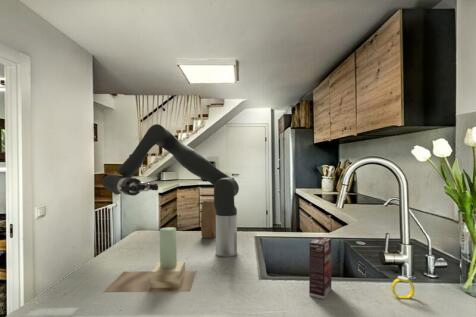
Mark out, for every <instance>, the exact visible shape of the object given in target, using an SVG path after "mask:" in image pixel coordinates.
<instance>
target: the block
mask: <svg viewBox="0 0 476 317" xmlns="http://www.w3.org/2000/svg"><path fill="white" fill-rule="evenodd" d="M200 210H201V212H200V217H201V218H200V223H201V224H200V230H201V237H202V238H204V239H214V238H216V210H215V207H214V198H212V199H208V198H207V199H204V200H203V201H202V202H201V209H200Z"/></svg>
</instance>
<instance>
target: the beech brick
mask: <svg viewBox="0 0 476 317" xmlns="http://www.w3.org/2000/svg"><path fill="white" fill-rule="evenodd" d="M150 271H151V288H180V286H181V284H182V281H183V279H184V277H185V271H186V261H185V260H184V261H183V260H181V261H177V266H176V267H174V268H171V269H162V268H160V261H157V263H156V264H155V265H154V267H153V268H152V269H151V270H150Z"/></svg>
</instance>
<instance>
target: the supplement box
mask: <svg viewBox="0 0 476 317" xmlns="http://www.w3.org/2000/svg"><path fill="white" fill-rule="evenodd" d="M308 281H309V283H308V284H309V286H308V287H309V289H308V292H309V293H308V295H309V296H310V297H314V298H317V299H322V300H325V298H326V297H327V295H329V292H330V291H331V290H332V238H328V237H322V236H317V237H316V238H314V239H313V240H312V241H310V242H309V280H308Z"/></svg>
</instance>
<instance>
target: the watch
mask: <svg viewBox="0 0 476 317" xmlns="http://www.w3.org/2000/svg"><path fill="white" fill-rule="evenodd" d="M399 282H403V283H409V284H410V286H411V289H410V293H409V294H407V295H398V294H397V293H396V291H395V289H396V288H395V287H396V286H397V284H398V283H399ZM390 286H391V287H390V289H391V292H392V294H393V295H394V296H395V297H396V298H397V299H400V300H401V299H405V300H410V299H411V298H412V297H413V296H415V293H416V292H415V291H416V290H415V289H416V288H415V285H414V284H413V283H412V281H411V280H410V279H409V278H408V277H406V276H404V275H398V276H397V278H395V279H394V280H392V283H391V285H390Z"/></svg>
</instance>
